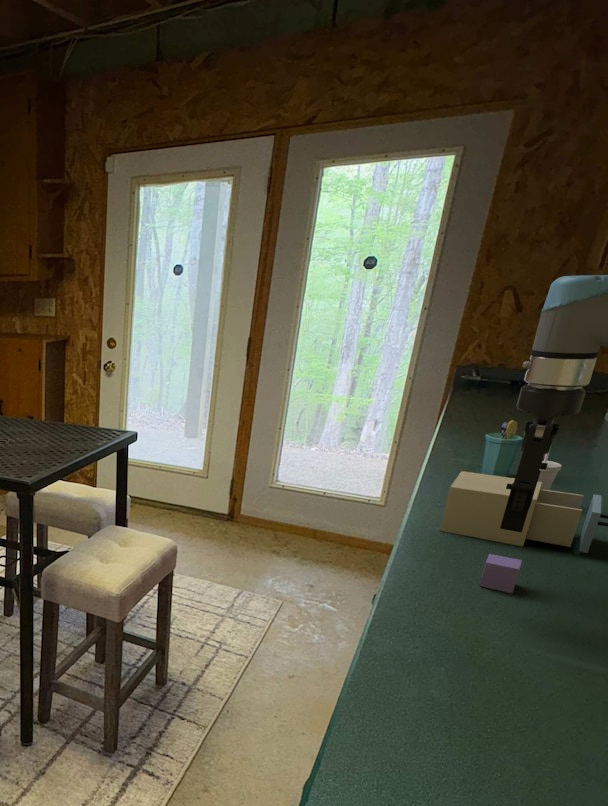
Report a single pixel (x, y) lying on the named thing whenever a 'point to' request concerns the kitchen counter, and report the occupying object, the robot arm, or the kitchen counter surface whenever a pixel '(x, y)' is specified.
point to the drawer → (564, 519)
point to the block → (500, 573)
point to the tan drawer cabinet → (482, 508)
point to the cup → (501, 450)
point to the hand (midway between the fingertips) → (515, 517)
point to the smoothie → (548, 473)
